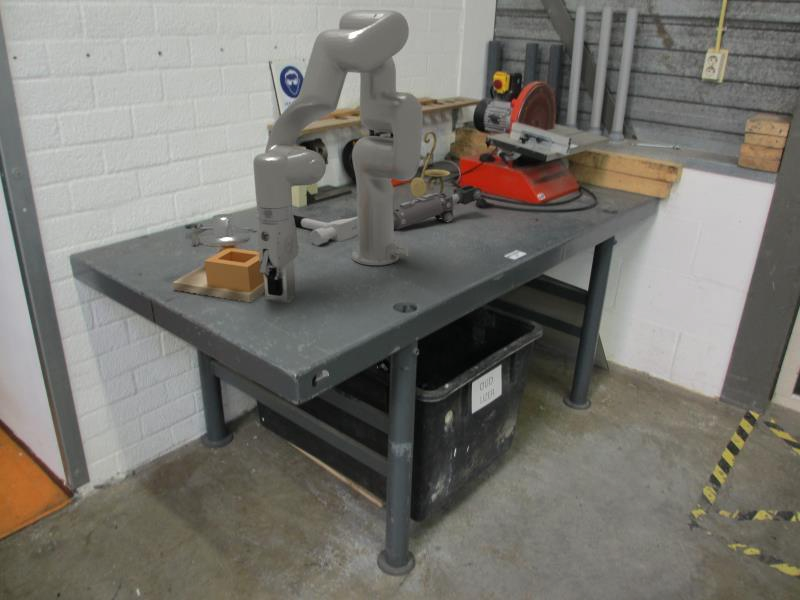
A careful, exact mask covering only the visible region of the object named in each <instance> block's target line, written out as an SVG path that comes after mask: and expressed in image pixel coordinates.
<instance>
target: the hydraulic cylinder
mask: <svg viewBox="0 0 800 600" xmlns="http://www.w3.org/2000/svg"><path fill="white" fill-rule="evenodd" d="M439 193H440V192H438V191H437V192H435V193H433V194H432V193H429V194H425V195H424V196H423V197H422V198H418V197H416V199H415V200H414V199H412V201H406V202H403V203H400V204H399V208H397V209H394V229H395V228H396V229H395V230H397V229H398V230H401V229H403V228H406V227H409V226H411V225H415V224H416V223H420V222H423V221H425V220H429V219H430V218H433V217H434V218H435V219H436V218H437V219H436V220H439V219H438V218H442V219H441V221H442V222H443V221H444V223H446V222H447V221H450V222H451V221H453V219H454V220H455V219H456V218H455V215H454V212H453V211H454V209H455V207H454V205H455V204H457V205H458V204H459V205H460V204H462V205H465V206H466V205H468V204H470V203H473V202H476V201H478V200H479V199H480V198H481V197H482V195H483V191H482V189H481V188H480V187H477V186H473V185H471V184H466V185H464V186H459V187H457V188H454V189H453V194H449V193H446V192H444V191H443V192H442V193H441V194H439Z"/></svg>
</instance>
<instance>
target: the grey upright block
mask: <svg viewBox="0 0 800 600" xmlns="http://www.w3.org/2000/svg"><path fill="white" fill-rule="evenodd" d="M294 260H295V258H294V259H293V260H291V261H290V262H289V263H287V264H286V265H284V266H283V267H281V268H280V270H279V279H281V285H282V295H281V296H276V295H270V294H268V284H267V279H266V276H265V275H264V284H265V292H264V296H265V300H269V301H276V302H282V303H287V304H288V303H289V302H290V301H291V300H293V299H294V298H295V297H297V296H296V277H295V275H296V274H295V261H294ZM270 264H272V263H271V262H270ZM271 270H272V271H273V272H274V273H275V269H274V268H271Z"/></svg>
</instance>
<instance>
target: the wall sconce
mask: <svg viewBox="0 0 800 600" xmlns="http://www.w3.org/2000/svg"><path fill="white" fill-rule="evenodd" d="M430 134H431V135H432V137H433V145H432V147H431V149H430V152H429V154H428V156H427V158H426V161H425V163H424V165H423V167H422V172H421V176H420V177H414V178H412V181H411V183H410V190H411V193H412V194H413V196H414V197H416V198H420V199H421V198H422V197H423V196H425V195H427V194H426V193H427V190H428V191H429V192H432V191H434V190H436V189H435V186H437V183H438V181H437V180H438V179H439V181H440V190H439V192H438V193H439V194H441V193H444V187H445V186H444V180H443V177H447V176H449V175H450V174H451V172H450V171H448V170H445V169H436V168H435V169H427V167H428V165H429V163H430V160H431V158H432V156H433V153H434V151H435V149H436V146H437V142H438V141H437V139H438V138H437V135H436V133H435V131H433V130H428V131H426V132H425V133H424V136H423V142H424V143H425V144H429V143H430V142H431V140H430V138H428V135H430ZM427 138H428V139H427ZM425 176H426V177H427V176H428V177H430V178H429V180H428V182H427V184H426V181H424V179H425ZM433 180H434V181H433ZM432 181H433V183H432ZM431 183H432V184H433V187H431Z"/></svg>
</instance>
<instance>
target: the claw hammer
mask: <svg viewBox="0 0 800 600" xmlns="http://www.w3.org/2000/svg"><path fill="white" fill-rule="evenodd" d="M293 217H294V221H295V226H296V227H299V228H303V229H309V230H310V229H311V232H310V233H309V239H310V241H311V242H312V243H313V245H314V246H320V245H323V244H327V243H328V242H329V240H332V241H335V242H343V241H345V240H346V241H347V240H348V239H349V240H350V239H351V238H353V237H355V236H357V216H354V217H349V218H344V219H342V218H341V219H337V220H332V221H330V222H325V221H320V220H316V219H311V218H308V217H306V216H300V215H296V214H293Z"/></svg>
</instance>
